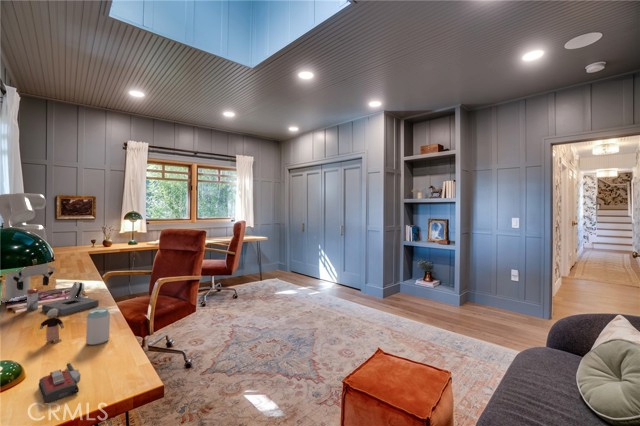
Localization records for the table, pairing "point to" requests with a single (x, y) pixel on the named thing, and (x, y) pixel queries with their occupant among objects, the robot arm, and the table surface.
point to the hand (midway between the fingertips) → (33, 287)
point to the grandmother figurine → (52, 326)
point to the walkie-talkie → (59, 384)
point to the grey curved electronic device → (76, 290)
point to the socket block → (71, 305)
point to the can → (98, 326)
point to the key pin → (32, 299)
